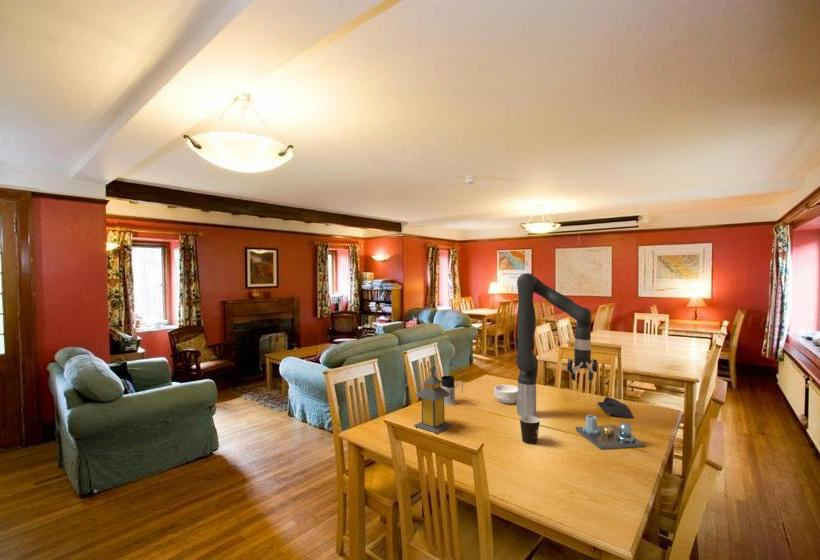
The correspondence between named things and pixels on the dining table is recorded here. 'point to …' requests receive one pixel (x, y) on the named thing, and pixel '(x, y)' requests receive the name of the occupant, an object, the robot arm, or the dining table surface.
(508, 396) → the paper bowls
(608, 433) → the gear carrier
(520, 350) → the robot arm
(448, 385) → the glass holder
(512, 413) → the dining table surface
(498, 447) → the dining table surface
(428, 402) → the lantern
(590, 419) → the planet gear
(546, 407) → the dining table surface
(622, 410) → the dark slate chunk
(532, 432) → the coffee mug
